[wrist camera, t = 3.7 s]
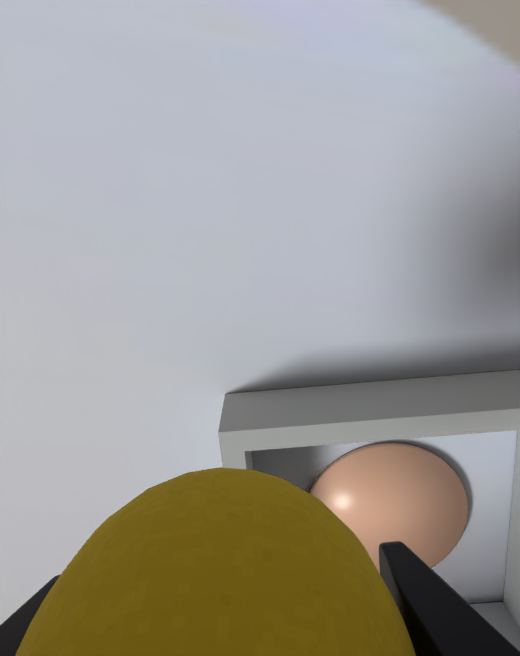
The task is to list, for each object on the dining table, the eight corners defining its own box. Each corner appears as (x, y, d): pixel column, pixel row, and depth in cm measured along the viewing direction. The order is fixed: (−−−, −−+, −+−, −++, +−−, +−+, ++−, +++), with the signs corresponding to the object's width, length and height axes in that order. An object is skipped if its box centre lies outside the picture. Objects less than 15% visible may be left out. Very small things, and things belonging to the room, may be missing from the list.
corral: (519, 613, 21) (559, 680, 18) (254, 631, 21) (254, 699, 19) (543, 367, 17) (599, 402, 15) (225, 393, 18) (218, 432, 15)
